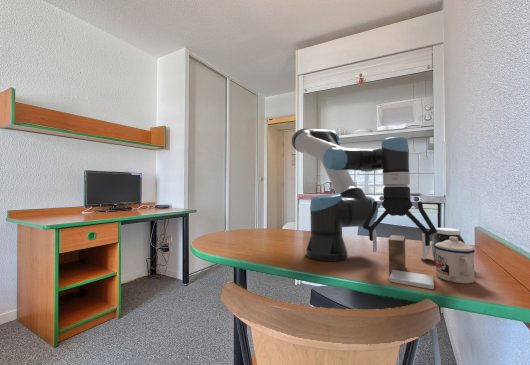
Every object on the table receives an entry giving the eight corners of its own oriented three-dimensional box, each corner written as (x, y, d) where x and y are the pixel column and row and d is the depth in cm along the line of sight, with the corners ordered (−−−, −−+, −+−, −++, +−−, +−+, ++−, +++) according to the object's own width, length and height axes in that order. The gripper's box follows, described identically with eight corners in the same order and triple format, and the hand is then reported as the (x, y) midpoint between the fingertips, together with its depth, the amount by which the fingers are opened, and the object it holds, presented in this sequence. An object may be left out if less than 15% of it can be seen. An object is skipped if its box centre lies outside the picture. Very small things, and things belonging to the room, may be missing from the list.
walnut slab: (389, 272, 75) (388, 239, 75) (391, 265, 81) (391, 235, 82) (404, 274, 72) (403, 240, 73) (405, 267, 79) (404, 236, 79)
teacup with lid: (429, 271, 75) (428, 233, 75) (463, 273, 73) (462, 234, 73) (450, 287, 63) (449, 242, 63) (491, 290, 61) (490, 243, 61)
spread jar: (470, 269, 77) (469, 232, 77) (430, 267, 79) (429, 231, 79) (450, 258, 89) (449, 226, 89) (415, 256, 91) (415, 225, 91)
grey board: (389, 281, 67) (389, 277, 67) (392, 272, 74) (392, 269, 74) (433, 289, 61) (433, 285, 61) (432, 279, 68) (432, 275, 68)
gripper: (352, 186, 81) (354, 251, 80) (445, 184, 68) (449, 262, 67) (357, 187, 87) (359, 246, 86) (443, 185, 74) (446, 256, 73)
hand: (398, 253), depth 76 cm, fingers open, 13 cm apart
